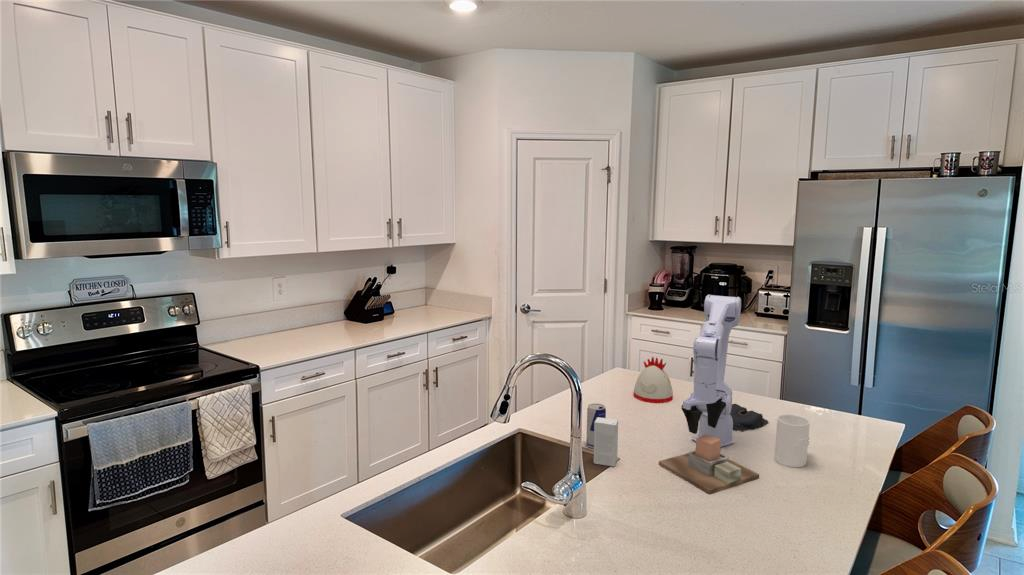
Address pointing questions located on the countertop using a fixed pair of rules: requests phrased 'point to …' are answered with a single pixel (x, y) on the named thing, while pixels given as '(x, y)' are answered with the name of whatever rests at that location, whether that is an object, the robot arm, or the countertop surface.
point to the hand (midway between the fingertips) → (702, 429)
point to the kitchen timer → (653, 384)
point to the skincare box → (605, 441)
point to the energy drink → (592, 415)
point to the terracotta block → (708, 447)
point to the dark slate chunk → (746, 419)
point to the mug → (792, 440)
